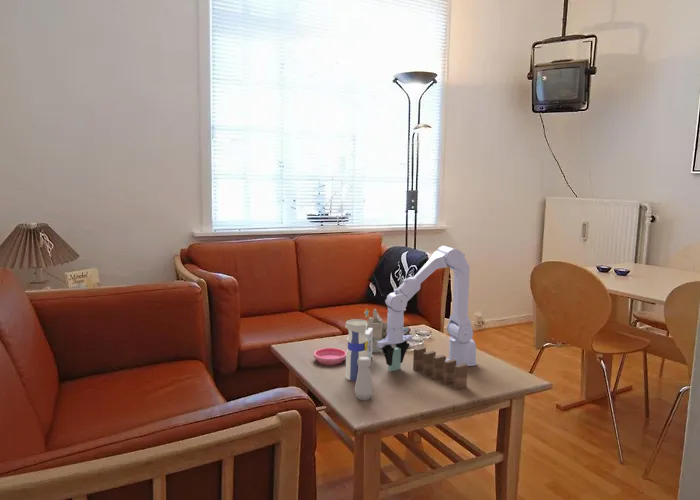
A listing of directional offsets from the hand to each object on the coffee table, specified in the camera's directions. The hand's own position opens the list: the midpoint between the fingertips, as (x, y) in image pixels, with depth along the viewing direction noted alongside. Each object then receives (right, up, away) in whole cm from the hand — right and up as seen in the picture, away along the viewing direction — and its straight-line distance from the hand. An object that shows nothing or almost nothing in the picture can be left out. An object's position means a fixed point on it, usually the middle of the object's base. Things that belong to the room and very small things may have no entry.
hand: (394, 363), depth 190 cm
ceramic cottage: (-3, +1, +25) cm, 25 cm away
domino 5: (+18, -4, -11) cm, 21 cm away
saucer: (-23, -1, +9) cm, 25 cm away
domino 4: (+15, -3, -7) cm, 17 cm away
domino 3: (+12, -3, -3) cm, 12 cm away
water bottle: (-13, -3, -7) cm, 15 cm away
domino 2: (+9, -2, +1) cm, 9 cm away
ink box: (-11, -1, +9) cm, 14 cm away
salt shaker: (-12, -6, -24) cm, 27 cm away
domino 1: (0, -2, 0) cm, 2 cm away
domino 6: (+20, -5, -15) cm, 26 cm away
